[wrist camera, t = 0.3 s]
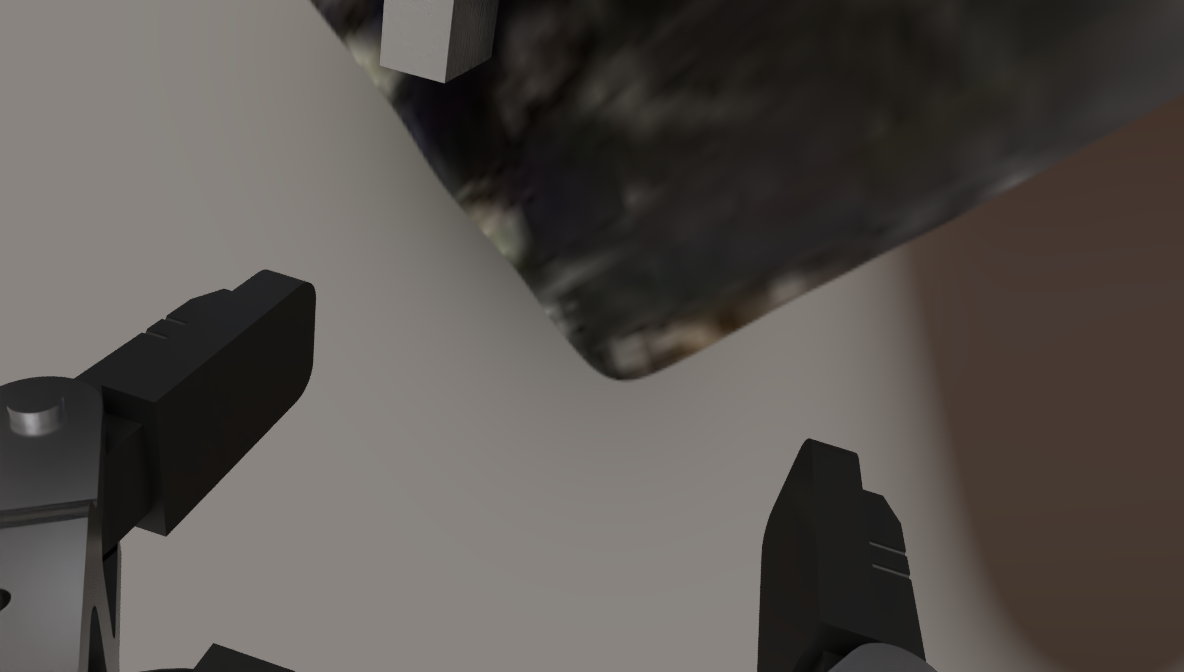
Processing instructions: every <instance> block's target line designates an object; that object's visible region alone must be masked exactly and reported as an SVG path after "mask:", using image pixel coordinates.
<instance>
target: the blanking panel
mask: <svg viewBox="0 0 1184 672" xmlns="http://www.w3.org/2000/svg"><path fill="white" fill-rule="evenodd" d="M498 4H499V0H384V12H383V27H382V42H381V56H380V66H383V67H387V68H391V69H394V70H398V71H401V72H405V73H409V74H412V75H416V76H420V77H423V78H427V79H431V80H434V81H438V82H442V83H446V82H448V81H450V80H451V79H453V78H455V77H457V76H459V75H461V74H462V73H464V72H466V71H468V70H470V69H471V68H473V67H475V66H477V65H479V64H480V63H482V62H484V61H486V60H488V59H490V58H491V54H492V47H493V40H494V33H495V25H496V18H497V11H498Z"/></svg>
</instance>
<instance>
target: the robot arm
mask: <svg viewBox="0 0 1184 672" xmlns="http://www.w3.org/2000/svg"><path fill="white" fill-rule="evenodd" d="M315 293H316V292H315V289H314V286H313V285H312V284H311V283H309V282H305V281H302V280H299V279H296V278H293V277H289V276H286V275H283V274H280V273H277V272H273V271H270V270H262V271H260V272H258V273H257V274H255V275H254V276H252V277H251V278H250V279H248V280H247V281H246V282H244V283H243V284H241V285H240V286H239V287H237V288H236V289H234V290H233V291H230V290H226V289H222V290H218V291H215V292H212V293H209V294H206V295H203V296H199V297H196V298H193V299H190V300H189V301H188V302H186V303H185V304H183V305H182V306H180V307H179V308H177V309H176V310H174V311H173V312H171V313H170V314H168V315H167V317H166V319H165V320H164V319H161V320H160V321H158V322H157V323H155V324H154V325H152V326H151V327H149V328H148V329H147V331H146V333H141V334H139V335H138V336H136V337H135V338H133V339H132V340H130V341H129V342H127V343H126V344H124V345H123V346H121V347H120V348H118V349H117V350H115V351H114V352H113V353H111V354H110V355H108V356H107V357H105V358H104V359H103V360H101V361H99V362H98V363H97V364H95V365H93V366H92V367H90V368H89V369H88V370H86V371H85V372H83V373H82V374H80V375H79V376H77V377H76V378H74V379H72V378H66V377H55V376H47V377H34V378H27V379H22V380H18V381H14V382H11V383H8V384H5V385H2V386H0V672H119V670H120V669H119V646H120V600H121V555H122V554H121V546H120V540H121V539H122V538H123V537H124V536H125V535H126V534H127V533H128V532H129V531H130V530H131V529H132V528H133V527H134V526H136V527H139V528H142V529H145V530H148V531H151V532H154V533H157V534H160V535H163V536H167V535H168V534H169V533H170V532H171V531H172V530H173V529H174V528H175V527H176V526H177V525H178V524H179V523H180V522H181V521H182V520H183V519H184V518H185V516H187V515H188V514H189V513H190V511H191V510H192V509H193V508H194V507H195V506H196V505H197V504H198V503H199V502H200V501H201V500H202V499H203V498H204V497H205V496H206V495H207V494H208V493H209V492H210V491H211V490H212V489H213V488H214V487H215V486H216V484H218V482H219V481H220V480H221V479H222V478H223V477H224V476H225V475H226V474H227V473H228V472H229V471H230V470H231V469H232V468H233V467H234V466H235V465H236V464H237V463H238V462H239V461H240V460H241V459H242V458H243V457H244V456H245V454H246V453H247V452H248V451H249V450H250V449H251V448H252V447H253V446H254V445H255V444H256V443H257V442H258V441H259V440H260V439H261V438H262V437H263V436H264V435H265V434H266V433H267V432H268V431H269V430H270V429H271V427H272V426H273V425H274V424H275V423H276V422H277V421H278V420H279V419H280V418H281V417H282V416H283V415H284V414H285V413H286V412H287V411H288V410H289V409H290V408H291V407H292V406H293V405H294V404H295V403H296V402H297V400H298V399H299V398H300V397H301V395H302V394H303V392H304V390H305V388H306V386H307V384H308V382H309V379H310V376H311V372H312V367H313V354H314V331H315V308H316V307H315V306H316V294H315ZM905 552H906V549H905V543H904V538H903V532H902V527H901V523H900V522H899V520H898V518H897V517H896V515H895V514H894V512H893V511H892V509H891V508H890V506H889V505H888V503H887V501H886V500H885V498H884V497H883V496H882V495H879V494H876V493H872V492H869V491H866V490H863V488H862V481H861V473H860V465H859V458H858V455H857V453H855V452H852V451H848V450H845V449H842V448H839V447H835V446H832V445H829V444H826V443H822V442H819V441H816V440H813V439H807V440H806V441H805V442H804V443H803V445H802V446H801V449H800V450H799V453H798V455H797V457H796V459H795V461H794V463H793V465H792V468H791V470H790V472H789V474H788V476H787V479H786V481H785V483H784V485H783V487H782V490H781V491H780V494H779V496H778V498H777V500H776V502H775V505H774V507H773V509H772V511H771V514H770V516H769V519H768V522H767V526H766V529H765V533H764V538H763V544H762V558H761V559H762V560H761V584H760V610H759V611H760V612H759V637H758V664H757V672H937V671H936V670H935V669H934V668H933V667H932V666H930V665H929V664H928V663H926V659H925V653H924V648H923V642H922V637H921V631H920V626H919V620H918V615H917V609H916V604H915V598H914V593H913V587H912V582H911V580H910V579H909V575H910V571H909V565H908V560H907V557H906V556H905ZM142 672H295V671H292V670H289V669H287V668H283V667H281V666H278V665H275V664H272V663H269V662H266V661H264V660H260V659H258V658H255V657H252V656H249V655H246V654H243V653H240V652H237V651H235V650H232V649H229V648H226V647H223V646H220V645H217V644H214V643H213V644H212V646H211V647H210V648H209V649H208V651H207V652H206V653H205V655H204V656H203V657H202V659H201V660H200V661H199V663H198V664H197V665H196V667H195V668H194V669H188V668H175V669H157V670H150V671H142Z"/></svg>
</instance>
